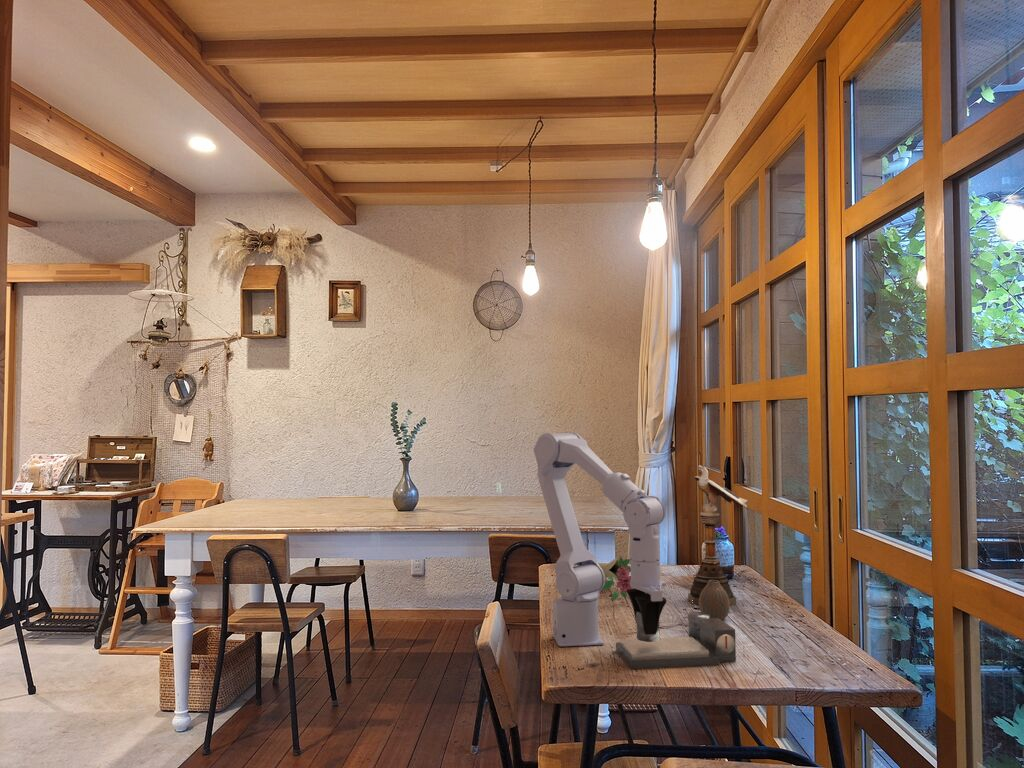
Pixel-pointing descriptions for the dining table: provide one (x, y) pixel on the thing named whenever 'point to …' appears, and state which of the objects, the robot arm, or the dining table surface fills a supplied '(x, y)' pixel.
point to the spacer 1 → (640, 630)
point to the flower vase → (617, 575)
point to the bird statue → (711, 538)
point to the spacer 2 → (696, 623)
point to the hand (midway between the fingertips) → (646, 630)
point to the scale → (682, 648)
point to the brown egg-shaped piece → (714, 600)
